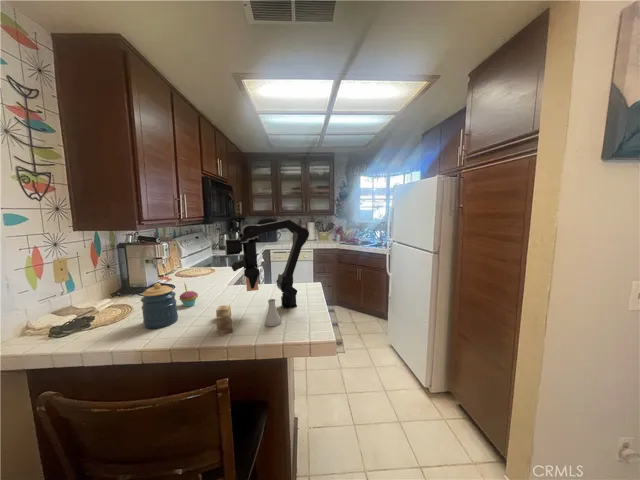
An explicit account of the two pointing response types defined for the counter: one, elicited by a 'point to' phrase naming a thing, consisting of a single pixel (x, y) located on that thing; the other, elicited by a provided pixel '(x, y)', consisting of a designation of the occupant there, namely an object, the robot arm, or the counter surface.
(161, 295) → the canister
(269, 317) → the flask
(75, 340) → the counter surface
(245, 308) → the counter surface
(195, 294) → the cupcake
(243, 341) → the counter surface
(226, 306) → the maple block
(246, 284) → the terracotta block
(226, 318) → the walnut block
